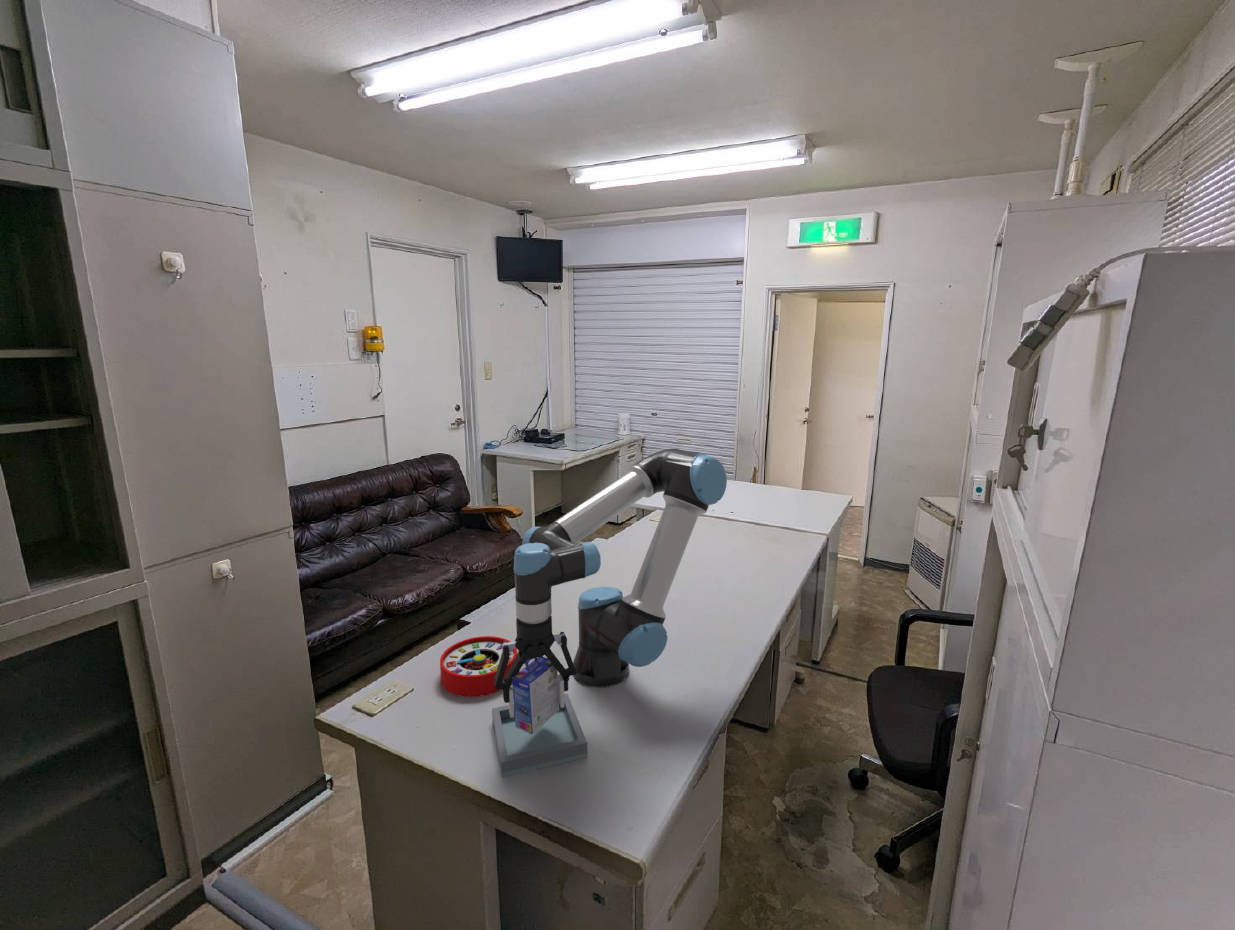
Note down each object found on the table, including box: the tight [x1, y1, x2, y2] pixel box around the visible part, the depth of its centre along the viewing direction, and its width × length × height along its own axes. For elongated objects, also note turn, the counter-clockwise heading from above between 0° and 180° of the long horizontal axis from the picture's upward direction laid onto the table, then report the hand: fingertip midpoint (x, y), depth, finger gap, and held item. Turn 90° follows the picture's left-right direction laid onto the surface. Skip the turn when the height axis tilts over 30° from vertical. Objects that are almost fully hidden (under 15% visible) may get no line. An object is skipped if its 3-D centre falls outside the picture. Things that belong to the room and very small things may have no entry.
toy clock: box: [439, 635, 518, 698], centre depth 146 cm, size 20×6×20 cm
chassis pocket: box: [491, 693, 588, 778], centre depth 122 cm, size 18×18×4 cm
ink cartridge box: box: [512, 656, 559, 734], centre depth 119 cm, size 10×6×14 cm, turn 150°
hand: (536, 708), depth 120 cm, fingers closed on ink cartridge box, 10 cm apart
